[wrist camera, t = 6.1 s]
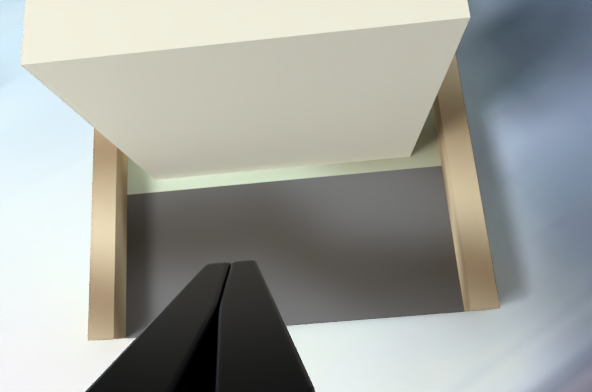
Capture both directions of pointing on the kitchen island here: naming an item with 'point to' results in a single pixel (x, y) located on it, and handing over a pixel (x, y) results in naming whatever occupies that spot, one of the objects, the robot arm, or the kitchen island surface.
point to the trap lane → (300, 232)
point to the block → (246, 77)
